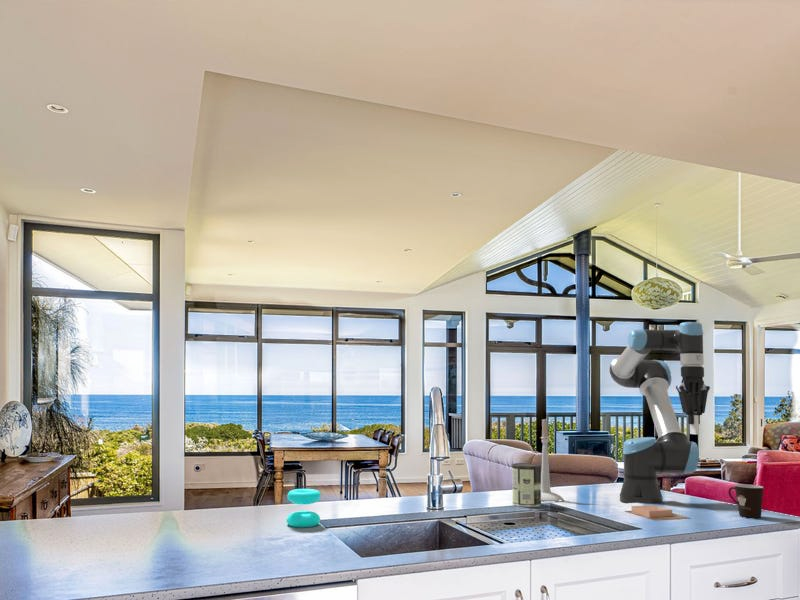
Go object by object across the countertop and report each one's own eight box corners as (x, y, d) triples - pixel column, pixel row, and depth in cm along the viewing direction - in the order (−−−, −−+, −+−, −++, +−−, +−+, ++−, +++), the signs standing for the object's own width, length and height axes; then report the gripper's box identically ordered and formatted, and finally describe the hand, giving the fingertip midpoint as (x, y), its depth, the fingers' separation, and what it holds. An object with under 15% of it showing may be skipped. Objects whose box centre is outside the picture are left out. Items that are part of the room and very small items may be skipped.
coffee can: (532, 501, 252) (532, 462, 254) (546, 506, 242) (546, 466, 244) (507, 502, 249) (507, 463, 251) (519, 507, 239) (519, 466, 241)
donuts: (318, 487, 213) (323, 492, 204) (317, 520, 212) (322, 527, 203) (286, 488, 211) (289, 493, 201) (285, 522, 210) (287, 528, 200)
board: (623, 513, 231) (623, 511, 232) (658, 511, 236) (658, 509, 236) (655, 523, 216) (655, 520, 216) (691, 520, 221) (691, 518, 221)
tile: (654, 511, 232) (631, 512, 230) (653, 505, 233) (631, 506, 230) (672, 516, 224) (649, 517, 221) (672, 509, 224) (649, 511, 221)
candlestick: (561, 496, 264) (560, 417, 267) (565, 502, 251) (563, 419, 255) (527, 495, 265) (526, 417, 269) (529, 501, 253) (528, 418, 256)
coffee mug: (769, 519, 225) (768, 488, 226) (743, 519, 225) (741, 487, 226) (752, 512, 236) (751, 483, 237) (727, 512, 236) (725, 482, 238)
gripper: (684, 365, 236) (686, 435, 234) (715, 366, 240) (717, 434, 238) (669, 365, 243) (671, 433, 241) (699, 366, 248) (701, 433, 245)
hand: (694, 434), depth 239 cm, fingers closed
